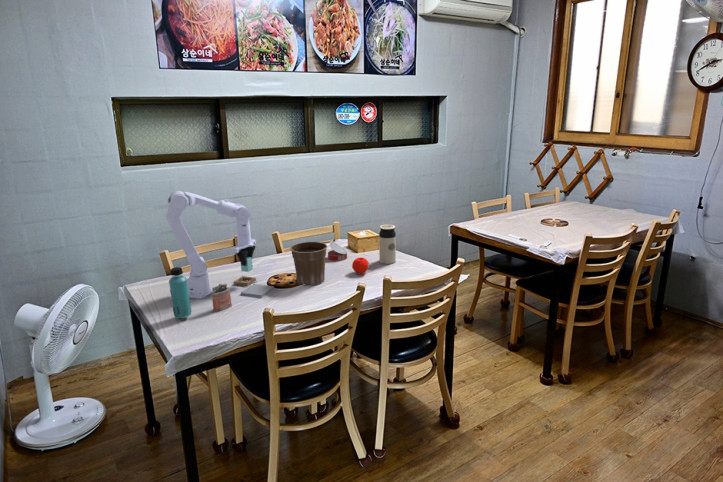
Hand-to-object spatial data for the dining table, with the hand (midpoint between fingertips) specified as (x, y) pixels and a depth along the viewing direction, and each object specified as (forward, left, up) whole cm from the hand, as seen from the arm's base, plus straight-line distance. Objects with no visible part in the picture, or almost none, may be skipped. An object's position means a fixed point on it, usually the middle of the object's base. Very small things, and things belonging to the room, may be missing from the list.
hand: (246, 263), depth 208 cm
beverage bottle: (-36, +5, -10) cm, 38 cm away
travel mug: (+48, -49, -10) cm, 69 cm away
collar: (+2, +3, -10) cm, 11 cm away
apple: (+29, -42, -10) cm, 52 cm away
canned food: (+46, -23, -10) cm, 52 cm away
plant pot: (+13, -24, -10) cm, 29 cm away
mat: (-5, -8, -10) cm, 14 cm away
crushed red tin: (-24, -4, -10) cm, 26 cm away
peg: (0, 0, -3) cm, 3 cm away
